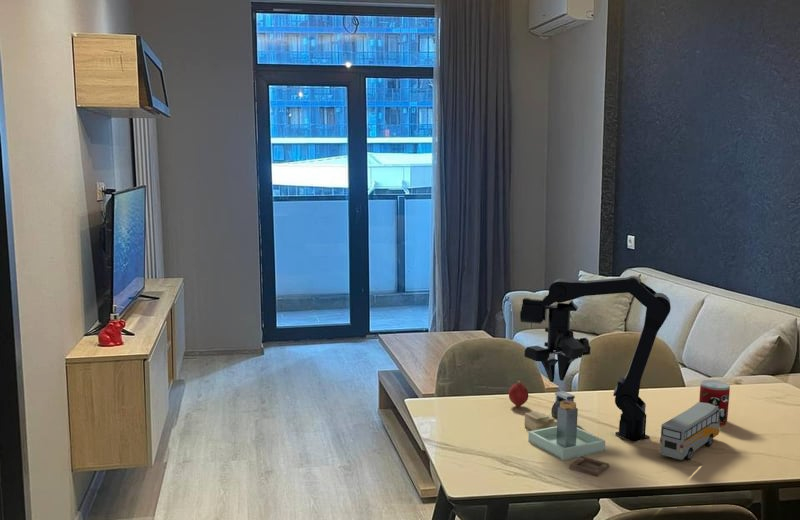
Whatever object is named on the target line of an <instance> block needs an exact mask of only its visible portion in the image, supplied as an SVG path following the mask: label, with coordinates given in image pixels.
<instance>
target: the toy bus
mask: <svg viewBox="0 0 800 520" xmlns="http://www.w3.org/2000/svg"><path fill="white" fill-rule="evenodd" d="M719 411H721V416H722V417H723V416H724V409H721V410H719V408H718V407H717V406H714V405H712V404H709V403H702V402H699V401H698V402H696V403H694V405H692V406H691V407H690V408H688V409H687V410H685V411H683V412H681V413H679V414H677V415H676V416H674V417H672V418H671V419H669V420H667V421H666V422H665V421H664V423H662V424H661V429H660V438H659V453H660V455H663V456H664V457H669V458H673V459H675V460H679V461H680V460H681V461H682V460H685V461H688V462H689V461H691V459H692V456H693V452H695V451H696V450H698V449H699V448H701V447H703V446H706V447H711V446H712V444H713V441H714V438H716V436H718V435H720V434H719V433H720V430H721V427H720V425H719Z"/></svg>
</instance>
